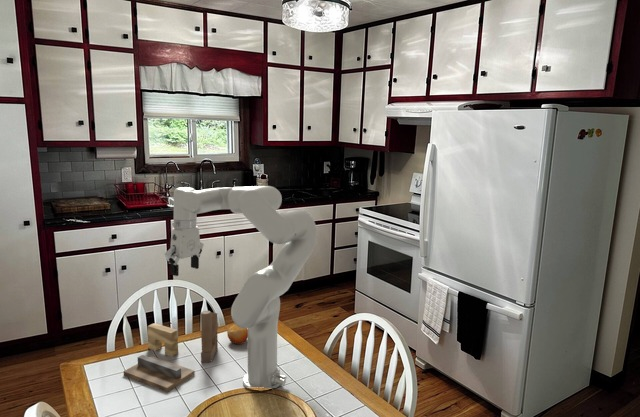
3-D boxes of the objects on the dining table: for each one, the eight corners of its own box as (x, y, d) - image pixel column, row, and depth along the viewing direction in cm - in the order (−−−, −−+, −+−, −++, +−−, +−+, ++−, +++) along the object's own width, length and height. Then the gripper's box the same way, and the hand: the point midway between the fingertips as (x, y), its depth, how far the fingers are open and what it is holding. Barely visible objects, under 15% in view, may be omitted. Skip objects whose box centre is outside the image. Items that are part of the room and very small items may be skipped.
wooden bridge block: (154, 345, 175) (154, 323, 173) (178, 353, 169) (177, 330, 168) (148, 348, 172) (147, 325, 171) (172, 356, 167) (171, 333, 165)
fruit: (255, 335, 182) (248, 322, 177) (244, 351, 177) (236, 338, 172) (240, 330, 186) (233, 317, 182) (228, 346, 181) (221, 333, 177)
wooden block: (217, 348, 173) (217, 303, 171) (211, 362, 163) (210, 314, 160) (208, 348, 174) (207, 302, 171) (200, 362, 163) (199, 314, 160)
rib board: (194, 374, 155) (194, 362, 154) (167, 392, 144) (166, 378, 143) (152, 360, 164) (151, 348, 163) (123, 375, 153) (123, 362, 153)
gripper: (174, 229, 148) (174, 280, 152) (210, 221, 163) (210, 267, 167) (157, 226, 152) (157, 275, 155) (194, 218, 167) (194, 263, 170)
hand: (184, 271), depth 161 cm, fingers open, 9 cm apart
